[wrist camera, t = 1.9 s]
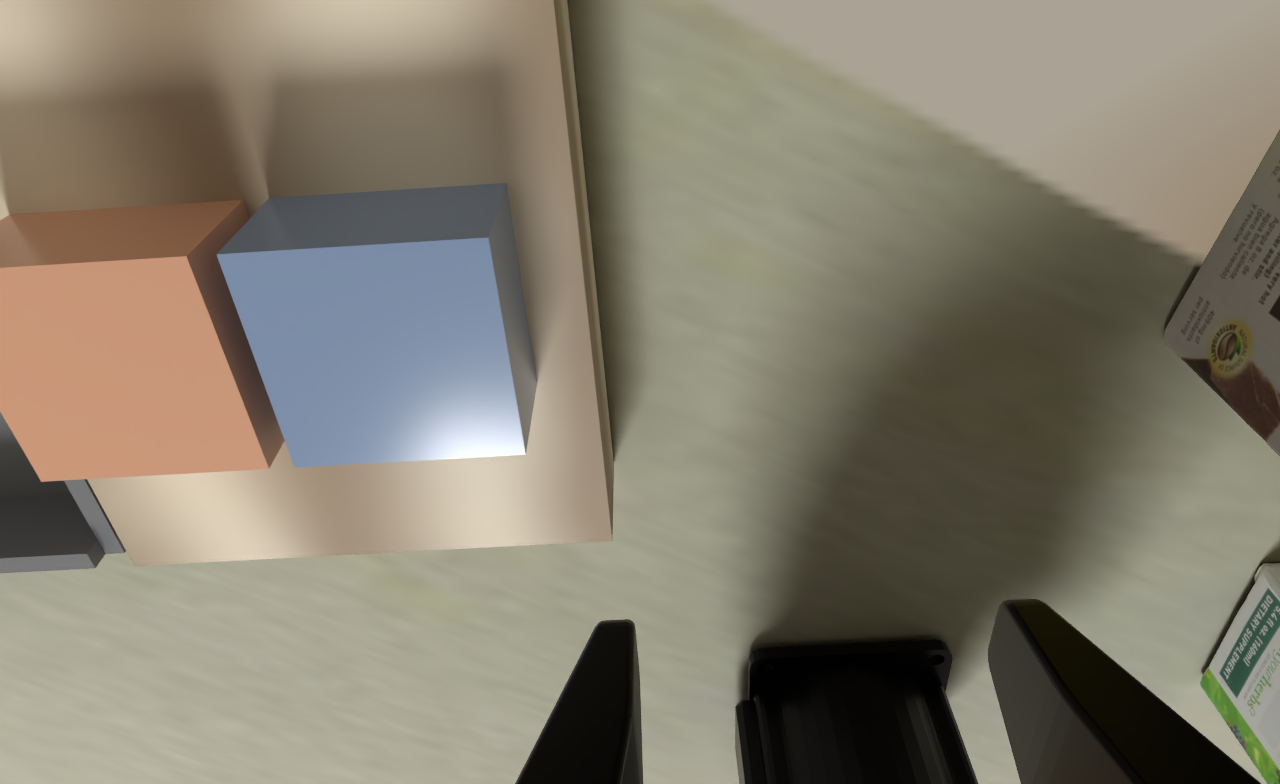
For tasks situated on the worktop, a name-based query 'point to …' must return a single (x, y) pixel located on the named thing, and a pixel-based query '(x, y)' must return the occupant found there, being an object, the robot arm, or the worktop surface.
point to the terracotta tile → (128, 344)
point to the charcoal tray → (48, 517)
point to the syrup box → (1252, 674)
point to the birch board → (317, 165)
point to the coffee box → (1240, 307)
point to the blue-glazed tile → (388, 323)
